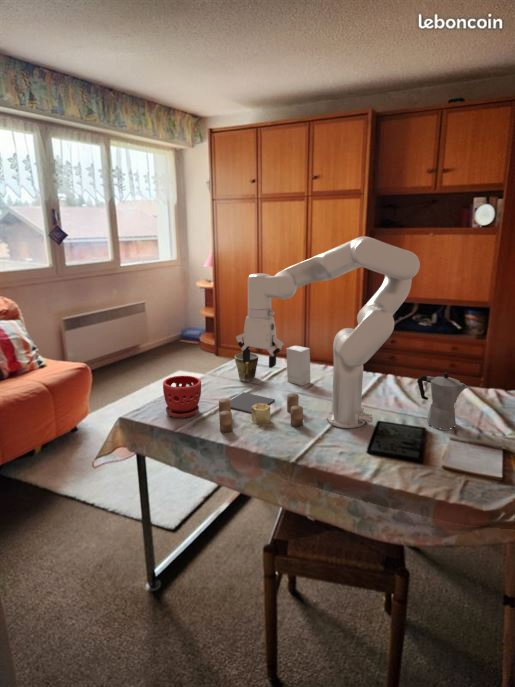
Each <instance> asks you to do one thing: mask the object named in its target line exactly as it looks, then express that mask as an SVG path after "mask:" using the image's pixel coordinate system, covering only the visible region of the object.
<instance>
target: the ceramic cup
mask: <svg viewBox="0 0 515 687" xmlns="http://www.w3.org/2000/svg"><path fill="white" fill-rule="evenodd" d="M234 361H235V364H236V367H237V368H236V369H237V373H238V378H239V381H244V382H251V381H254V380H255V378H256V374H257V373H256V372H257V367H258V362H259V354H257V353H254V352H250V361H248V362H246V363H244V362H243V352H240V353H237V354H235V355H234Z"/></svg>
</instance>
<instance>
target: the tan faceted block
mask: <svg viewBox="0 0 515 687" xmlns="http://www.w3.org/2000/svg"><path fill="white" fill-rule="evenodd" d="M250 414H251V416H250V417H251V421H252V422H253V423H254V424H256V425H266V424H267V423H269V422H270V421H271V406H270V405H267V404H255V405H253V406H252V407H251V413H250Z"/></svg>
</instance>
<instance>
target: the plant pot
mask: <svg viewBox="0 0 515 687" xmlns="http://www.w3.org/2000/svg"><path fill="white" fill-rule="evenodd" d="M173 384H175V386H172V385H173ZM187 385H189V386H187ZM162 392H163V396H164V401H165V403H166V407H165V412H166V414H168V416H171V417H174V418H180V419H181V418H188V417H192V416H194V415H195V414H197V413H198V411H199V409H200V406H199V403H200V400H201V394H202V380H201V379H200V378H198V377H196V376H192V375H175V376H170V377H168V378H166V379H164V380H163V383H162Z"/></svg>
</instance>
